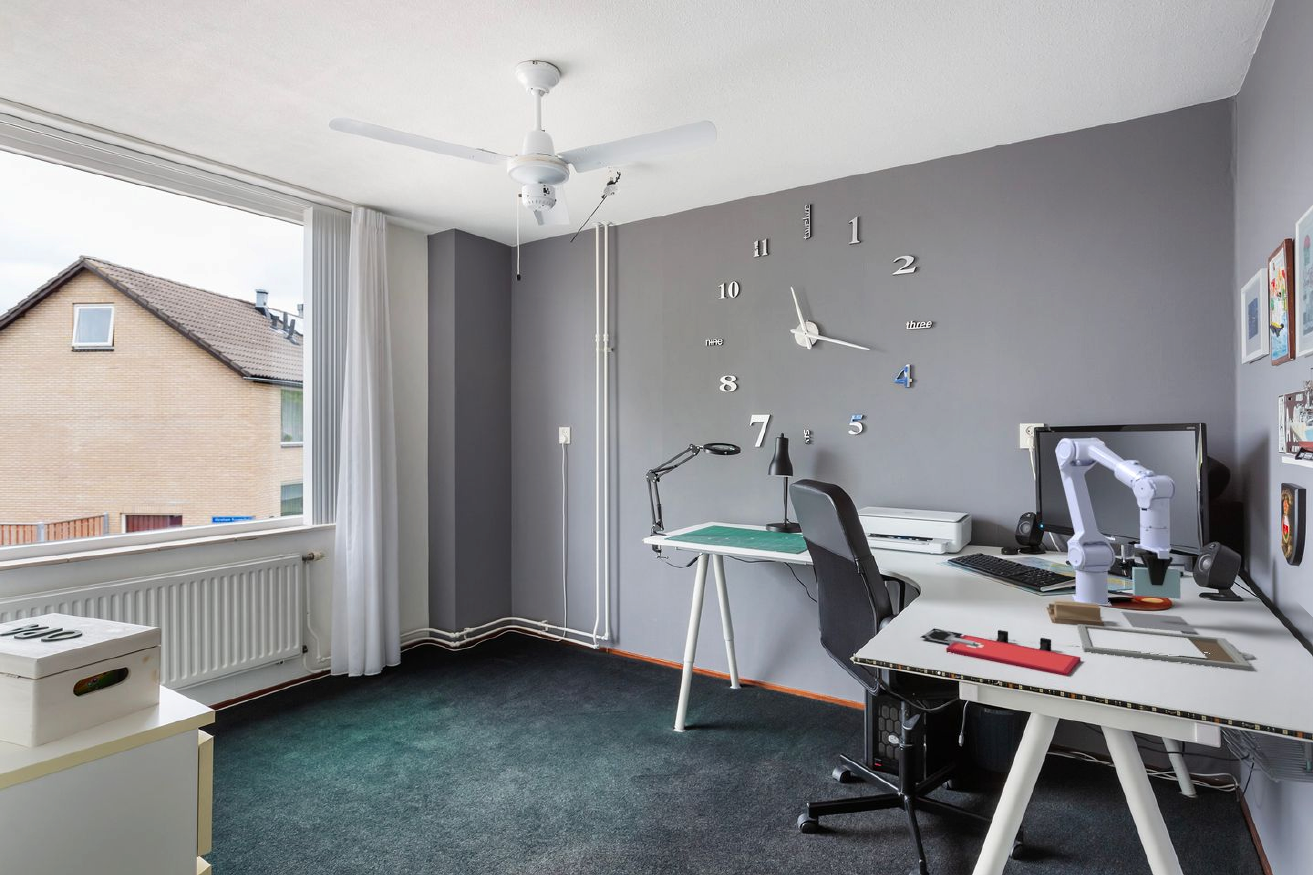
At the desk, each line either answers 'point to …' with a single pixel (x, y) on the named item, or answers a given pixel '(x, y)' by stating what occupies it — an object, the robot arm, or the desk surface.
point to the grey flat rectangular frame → (1218, 657)
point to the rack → (1072, 619)
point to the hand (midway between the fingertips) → (1155, 583)
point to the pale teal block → (1145, 588)
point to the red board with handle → (1007, 651)
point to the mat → (1159, 622)
